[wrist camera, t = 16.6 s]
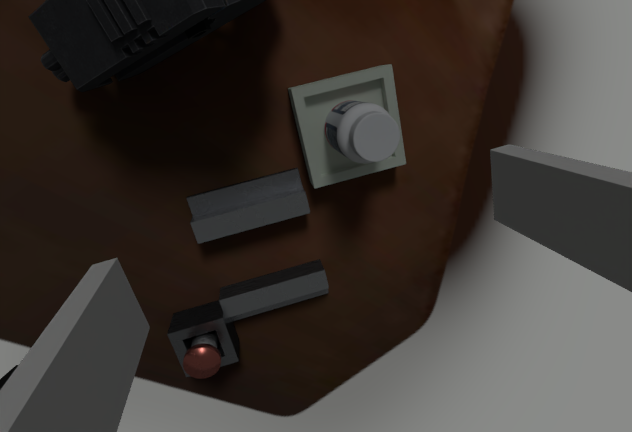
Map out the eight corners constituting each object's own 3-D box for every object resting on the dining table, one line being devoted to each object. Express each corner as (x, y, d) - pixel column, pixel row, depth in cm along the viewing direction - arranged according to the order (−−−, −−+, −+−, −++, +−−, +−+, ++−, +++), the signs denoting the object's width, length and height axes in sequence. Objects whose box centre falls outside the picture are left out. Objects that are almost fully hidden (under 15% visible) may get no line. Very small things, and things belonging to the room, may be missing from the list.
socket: (231, 318, 47) (230, 332, 44) (187, 196, 41) (183, 204, 39) (327, 290, 48) (332, 302, 45) (297, 167, 42) (300, 173, 40)
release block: (190, 354, 47) (186, 377, 44) (173, 313, 45) (167, 334, 41) (239, 339, 48) (238, 361, 44) (224, 298, 46) (222, 318, 42)
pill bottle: (359, 160, 41) (388, 180, 33) (314, 140, 40) (333, 155, 31) (382, 113, 40) (419, 122, 32) (338, 90, 38) (364, 93, 30)
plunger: (196, 347, 46) (190, 383, 41) (185, 321, 45) (177, 354, 40) (227, 338, 47) (225, 372, 41) (217, 312, 45) (214, 343, 40)
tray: (309, 181, 43) (314, 188, 40) (287, 88, 39) (291, 89, 37) (395, 158, 44) (406, 163, 41) (381, 65, 40) (391, 64, 37)
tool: (305, -7, 34) (222, 4, 22) (157, 78, 43) (38, 118, 31) (274, -84, 32) (162, -120, 20) (124, 21, 41) (-18, 41, 29)
